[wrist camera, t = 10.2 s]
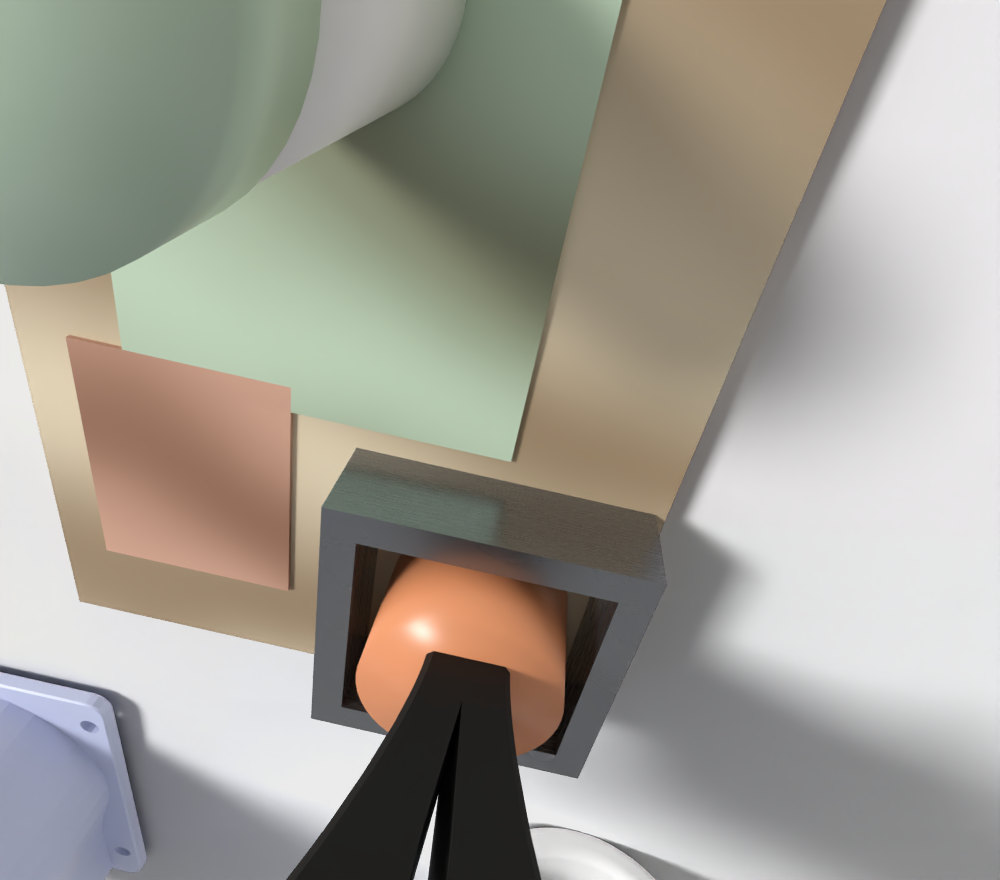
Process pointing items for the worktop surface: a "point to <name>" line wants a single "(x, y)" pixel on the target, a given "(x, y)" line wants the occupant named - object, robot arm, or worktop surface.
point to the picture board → (441, 300)
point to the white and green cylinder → (182, 111)
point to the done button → (468, 641)
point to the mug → (581, 857)
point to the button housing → (490, 549)
